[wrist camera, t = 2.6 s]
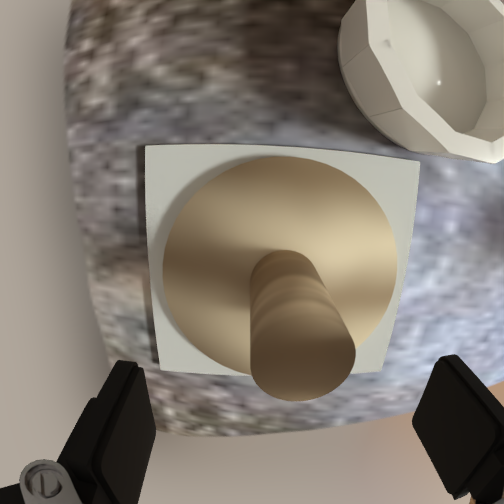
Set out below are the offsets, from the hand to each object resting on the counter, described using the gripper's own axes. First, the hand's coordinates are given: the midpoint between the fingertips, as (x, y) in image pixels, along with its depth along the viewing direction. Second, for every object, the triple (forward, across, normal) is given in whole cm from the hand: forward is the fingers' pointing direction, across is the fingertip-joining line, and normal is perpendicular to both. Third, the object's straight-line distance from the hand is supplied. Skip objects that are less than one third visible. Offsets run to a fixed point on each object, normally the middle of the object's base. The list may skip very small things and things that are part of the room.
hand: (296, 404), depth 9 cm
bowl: (+10, -8, -14) cm, 19 cm away
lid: (+9, 0, -1) cm, 9 cm away
